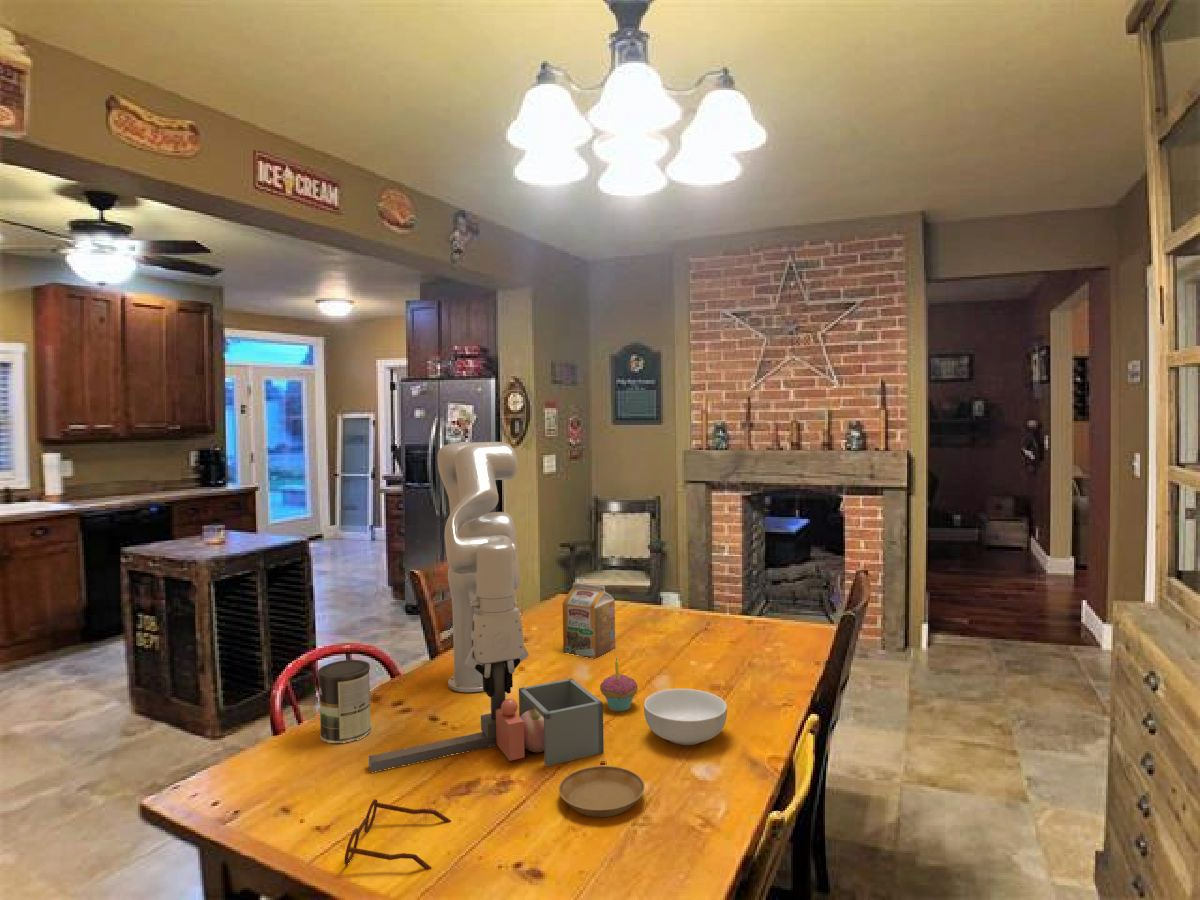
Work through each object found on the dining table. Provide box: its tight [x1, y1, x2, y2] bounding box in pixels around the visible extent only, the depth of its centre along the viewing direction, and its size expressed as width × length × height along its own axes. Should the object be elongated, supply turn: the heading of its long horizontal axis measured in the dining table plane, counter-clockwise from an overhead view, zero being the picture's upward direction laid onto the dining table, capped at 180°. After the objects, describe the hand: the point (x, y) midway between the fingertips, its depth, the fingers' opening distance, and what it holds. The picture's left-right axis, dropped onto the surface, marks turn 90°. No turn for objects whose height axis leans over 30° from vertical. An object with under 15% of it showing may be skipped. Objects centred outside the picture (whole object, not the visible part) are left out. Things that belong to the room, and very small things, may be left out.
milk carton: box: [562, 582, 616, 660], centre depth 204 cm, size 11×11×19 cm
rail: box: [368, 731, 498, 773], centre depth 143 cm, size 3×27×2 cm, turn 116°
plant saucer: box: [558, 765, 646, 818], centre depth 125 cm, size 15×15×3 cm
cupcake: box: [599, 657, 638, 712], centre depth 164 cm, size 9×8×12 cm
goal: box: [518, 677, 605, 767], centre depth 146 cm, size 15×12×10 cm
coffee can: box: [317, 659, 372, 744], centre depth 153 cm, size 10×10×14 cm
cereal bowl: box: [643, 688, 728, 746], centre depth 149 cm, size 17×17×7 cm
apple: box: [520, 709, 544, 753], centre depth 144 cm, size 8×8×8 cm
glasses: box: [343, 799, 452, 870], centre depth 113 cm, size 13×13×5 cm
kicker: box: [480, 661, 526, 762], centre depth 144 cm, size 14×6×16 cm, turn 26°
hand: (498, 692), depth 148 cm, fingers closed on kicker, 3 cm apart
